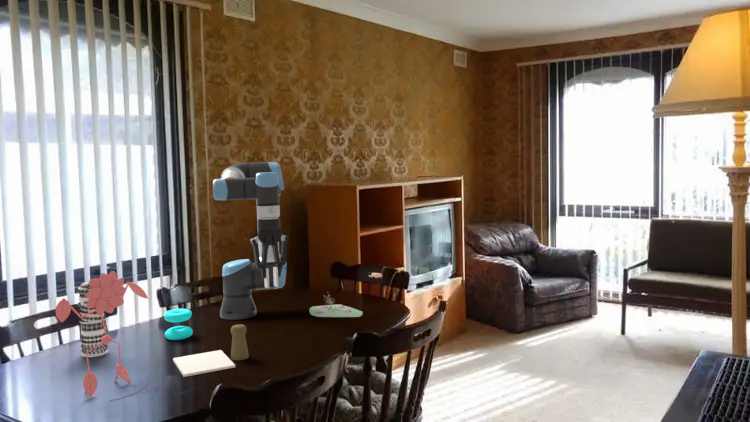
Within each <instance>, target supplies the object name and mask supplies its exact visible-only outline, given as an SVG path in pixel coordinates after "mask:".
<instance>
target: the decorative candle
mask: <svg viewBox="0 0 750 422" xmlns="http://www.w3.org/2000/svg"><path fill="white" fill-rule="evenodd" d="M77 289H78V295H79V296H78V301H79V302H78V303H77V305H76V306H77V307H78V308H77V312H78V313H79V314H80V315H81V316H83V315H85V314H87V313H89V312H91V311H93V310H95V309H96V306H95V307H93V308H91V309H88V308H87V301H88V299H89V298H86V294H87V293H88V291H89V290H91V289H92V288H91V286H90V285H89V281H84V282H82V283H81V284H80V286H79V287H77ZM106 313H107V312H106V311H104V313H103V314H102V315H103V320H104V323H105V324H106V320H107V316H106ZM78 321H79V323H80V324H81V325H80V327H81V330H80V333H81V335H80V336H79V337H80V338H81V339H80V342H81V343H82V344H81V345H80V348H81V350H80V351H81V356H82V357H84V358H86V352H87V351H89V350H90V349H92V348H94V347H95V346H97V345H99V344H100V343H102V342H101V339H102V337H103V336H105V335H106V334H105V330H104V327H103V324H102V320H101V315H98V314H97V311H95V312H93V313H91V314H89V315H87V316H85V317H83V318H81V317H79V319H78ZM108 353H109V345H108V344H107V345H105V344H101V345H99V346H98V347H96V348H94V349H93V350H91V351H89V352H88V353H87V355H88V358H97V357H100V356H103V355H106V354H108Z"/></svg>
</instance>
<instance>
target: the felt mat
mask: <svg viewBox="0 0 750 422" xmlns="http://www.w3.org/2000/svg"><path fill="white" fill-rule="evenodd" d="M172 361H173V363H174V364H175V366H176V367H177V369H178V370H179V372H180V374H181V376H183V378H185V377H191V376H196V375H201V374H208V373H212V372H213V373H214V372H218V371H223V370H228V369H234V368H236V364H235V363H234V361H233V360H232V359H231V358H229V356H227V355H226V353H224V351H223V350H222V349H219V350H212V351H206V352H201V353H194V354H189V355H183V356H179V357H173V358H172Z"/></svg>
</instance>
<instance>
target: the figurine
mask: <svg viewBox="0 0 750 422" xmlns="http://www.w3.org/2000/svg"><path fill="white" fill-rule="evenodd" d="M88 282H89V285H90V286H91V288H92V289H91V290H89V291H88V293H87V294H86V298H89V299H88V301H87V308H88V309H91V308H93V307H95V306H96V309H95V310H93V311H91V312H89V313H87V314H85V315H83V316H81V315H80V314H79V313H80V312H79V311H78V310H77V309H75V308H74V307H73V305H71V304H70V301H68V299H66V298H62V300H60V301H59V302H58V303H57V304H56V306H55V317H56V318H57V319H58V320H59V322H61V323H64V322H65V321H66V320H67V319H68V317H69V316H70V314H71V311H73V312H74V314H76V315H77V317H79V318H80V317H81V318H83V317H85V316H87V315H89V314H91V313H93V312H95V311H97V314H98V315H101V320H102V324H103V327H104V330H105V334H106V335H105V336H103V337H102V339H101V342H102V343H100V344H99V345H101V344H105V345H107V346H108V345H109V344H111V342H112V343H115V344H118V359H119V360H118V361H119V362H118V363H116V366H115V369H116V375H115V379H114V383H116V382H117V380H118V378H119V377H120V378H121V379H123V380H124V381H125V382H127V383H131V378H130V374H129V371H128V370H127V368H126V367H125V366H124V365H122V361H121V345H120V344H121V343H120V342H119V341H116V340H113V339H112V336H110V335H108V332H107V326H106V322H105V323H104V320H103V315H102V314H103V313H104V311H106V313H107V314H112V313H113V312H114V310H115V308H119V307H121V306H123V304H124V296H125V294H126V293H127V290H128V287H129V288H130V289H131V291H132V292H133V293H134V294H135V295H137V296H139V297H140V298H144V299H147V300H148V299H149V297H148V295H147V293H146V292H145V290H143V288H142V287H141V286H139V285H138V284H136V283H135V282H131V281H126V286H124V285H125V284H124V283H125V279H124V277H120V278H118V277H117V273H116V272H115V270H111V271H110V272H109V273H108V274H106V273H104V272H103V273H100V275H99V277H98V278H97V277H95V278H90V279H89V280H88ZM104 314H105V313H104ZM99 345H97V346H95V347H94V348H96V347H98V346H99ZM94 348H92V349H90V350H89V351H91V350H93V349H94ZM89 351H87V352H86V357H85V358H86V362H87V370H88V372H87V373H85V375H84V376H83V377H84V378H83V381H82V382H83V383H82V385H83V388H84V391H85V393H86V394H87V395H88V396H89V397H90V398H91V397H92V396H93V395H94V393H95V392H96V390H97V388H98V379H97V376H96V374H95V373H93V372H92V371H91V368H90V362H89V357H88V355H87V353H88V352H89ZM148 384H149V383H147V384H146V385H145V386H144V387H143V388H142V389H140V390H138V391H137V392H136V391H135V392H134V393H131V394H129V395H126V396H123V397H119V398H114V399H110V400H109V402H111V401H116V400H119V399H124V398H126V397H127V398H128V397H129V396H130V397H132V396H133V395H135V394H137V393H139V392H141V391H142V390H144V389H146V387H147V386H148Z"/></svg>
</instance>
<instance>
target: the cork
mask: <svg viewBox="0 0 750 422" xmlns="http://www.w3.org/2000/svg"><path fill="white" fill-rule="evenodd" d="M230 334H231V335H232V339H231V348H230V349H231V350H230V360H231V361H244V360H247V359H248V358H249V357H250V355H249V349H248V343H247V338H246V334H247V327H246V325H245V324H241V323H240V324H239V323H238V324H234V325H232V326H231V327H230Z"/></svg>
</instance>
